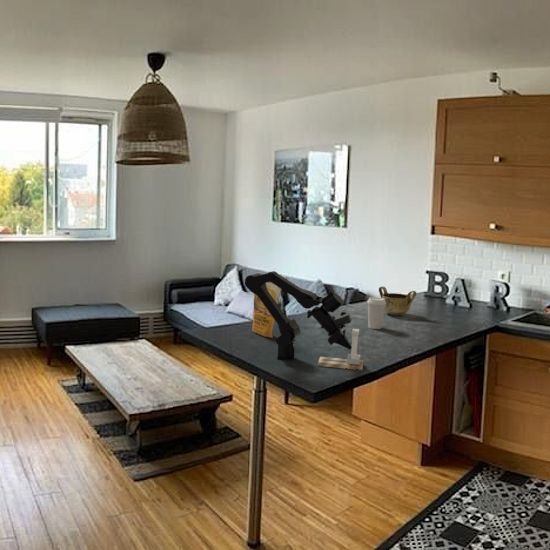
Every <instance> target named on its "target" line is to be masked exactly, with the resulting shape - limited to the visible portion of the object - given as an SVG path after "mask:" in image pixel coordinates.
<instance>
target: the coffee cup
mask: <svg viewBox="0 0 550 550" xmlns="http://www.w3.org/2000/svg"><path fill="white" fill-rule="evenodd" d="M366 302H367V320H368V321H367V323H368V324H367V325H368V326H367V328H369V329H371V330H372V329H373V330H380V329H382V324H383V319H384V313H385V311H384V307H385V304H386V302H385V299H383V298H381V297H376V296H375V297H369V298H368V300H367V301H366Z"/></svg>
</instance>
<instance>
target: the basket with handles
mask: <svg viewBox="0 0 550 550" xmlns="http://www.w3.org/2000/svg"><path fill="white" fill-rule="evenodd" d="M378 292H379V295H380V298H383V299H385V302H386V304H385V307H384V313H387V314H389V315H391V316H397V317H398V316H402V315H405V314H406V313H408V311H409V310H410V308H411V305H412V302H413V301H414V299H415V298H416V296H417V290H416V291H415V290H411V291H409V292H408V293H407V294H402V293H394V292H390V293H389V292H388V290H387V288H386V286H379V288H378ZM411 294H413V295H412V297H411Z"/></svg>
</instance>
